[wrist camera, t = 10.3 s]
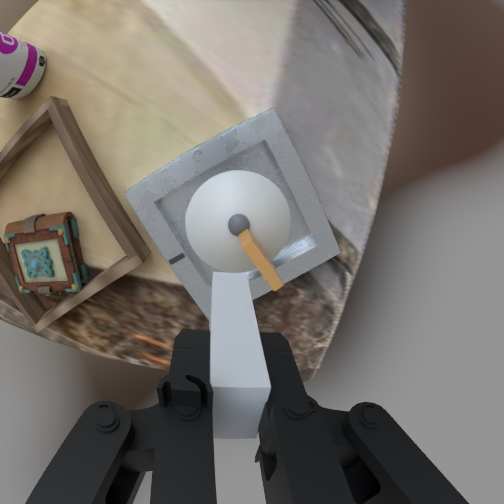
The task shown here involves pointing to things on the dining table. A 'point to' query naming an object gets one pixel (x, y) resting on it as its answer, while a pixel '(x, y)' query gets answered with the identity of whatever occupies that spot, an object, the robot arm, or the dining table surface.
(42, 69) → the supplement can
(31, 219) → the decorative book
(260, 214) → the dial
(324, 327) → the dining table surface
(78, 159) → the book tray
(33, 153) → the dining table surface
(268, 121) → the dial panel
